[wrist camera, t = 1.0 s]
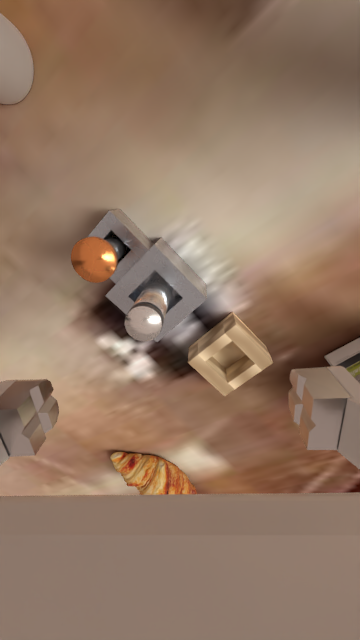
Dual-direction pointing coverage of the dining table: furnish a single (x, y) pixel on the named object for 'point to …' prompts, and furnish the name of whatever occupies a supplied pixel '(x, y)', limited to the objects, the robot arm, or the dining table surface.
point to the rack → (229, 355)
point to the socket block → (175, 271)
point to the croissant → (151, 474)
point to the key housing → (128, 234)
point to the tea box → (347, 358)
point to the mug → (14, 64)
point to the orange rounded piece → (97, 257)
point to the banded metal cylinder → (149, 310)
